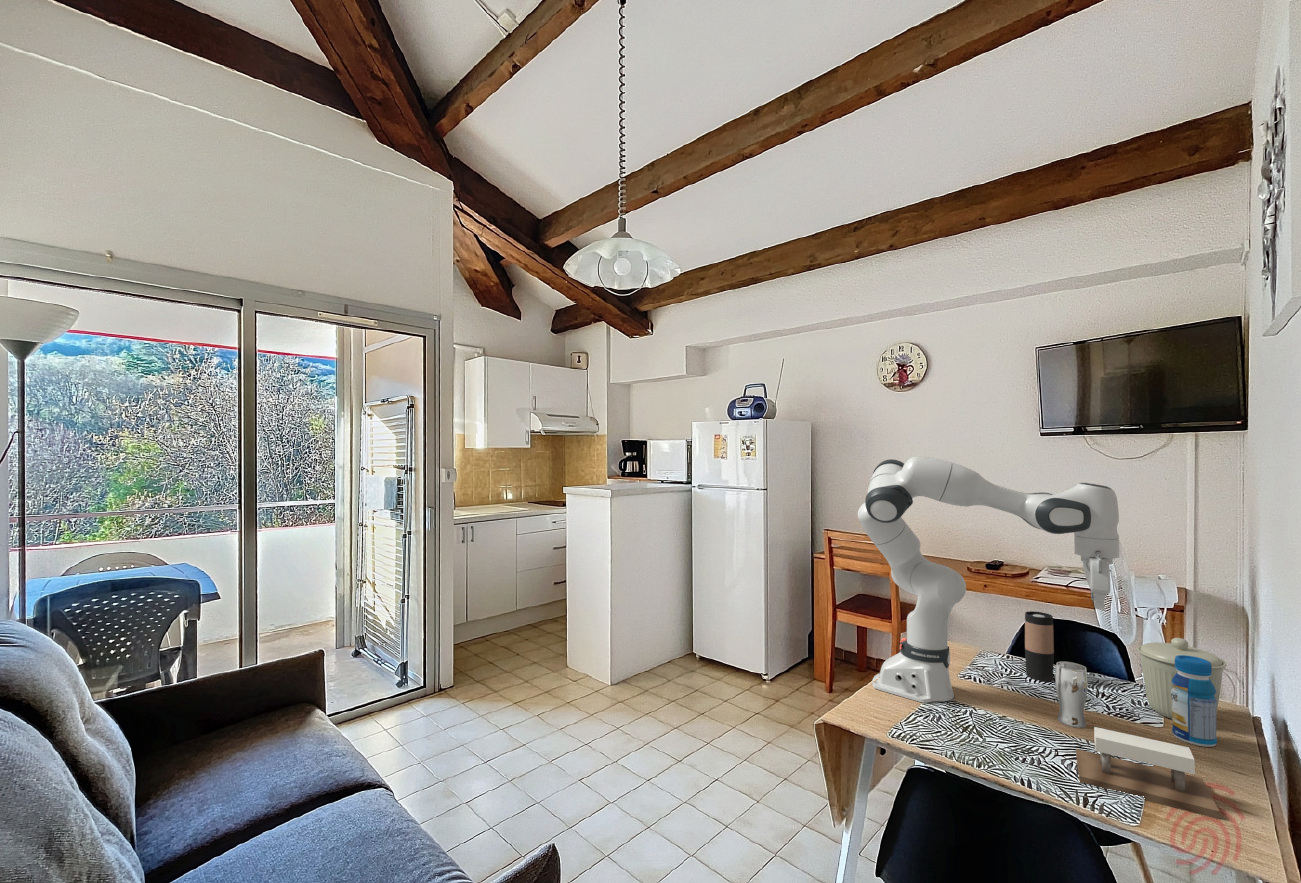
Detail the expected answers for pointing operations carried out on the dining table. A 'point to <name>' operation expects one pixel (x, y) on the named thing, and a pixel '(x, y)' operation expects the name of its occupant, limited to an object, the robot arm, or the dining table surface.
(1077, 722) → the beer glass
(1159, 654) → the canister
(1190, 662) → the beverage bottle
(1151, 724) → the dining table surface
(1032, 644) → the travel mug
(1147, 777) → the peg stand
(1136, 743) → the shelf board
